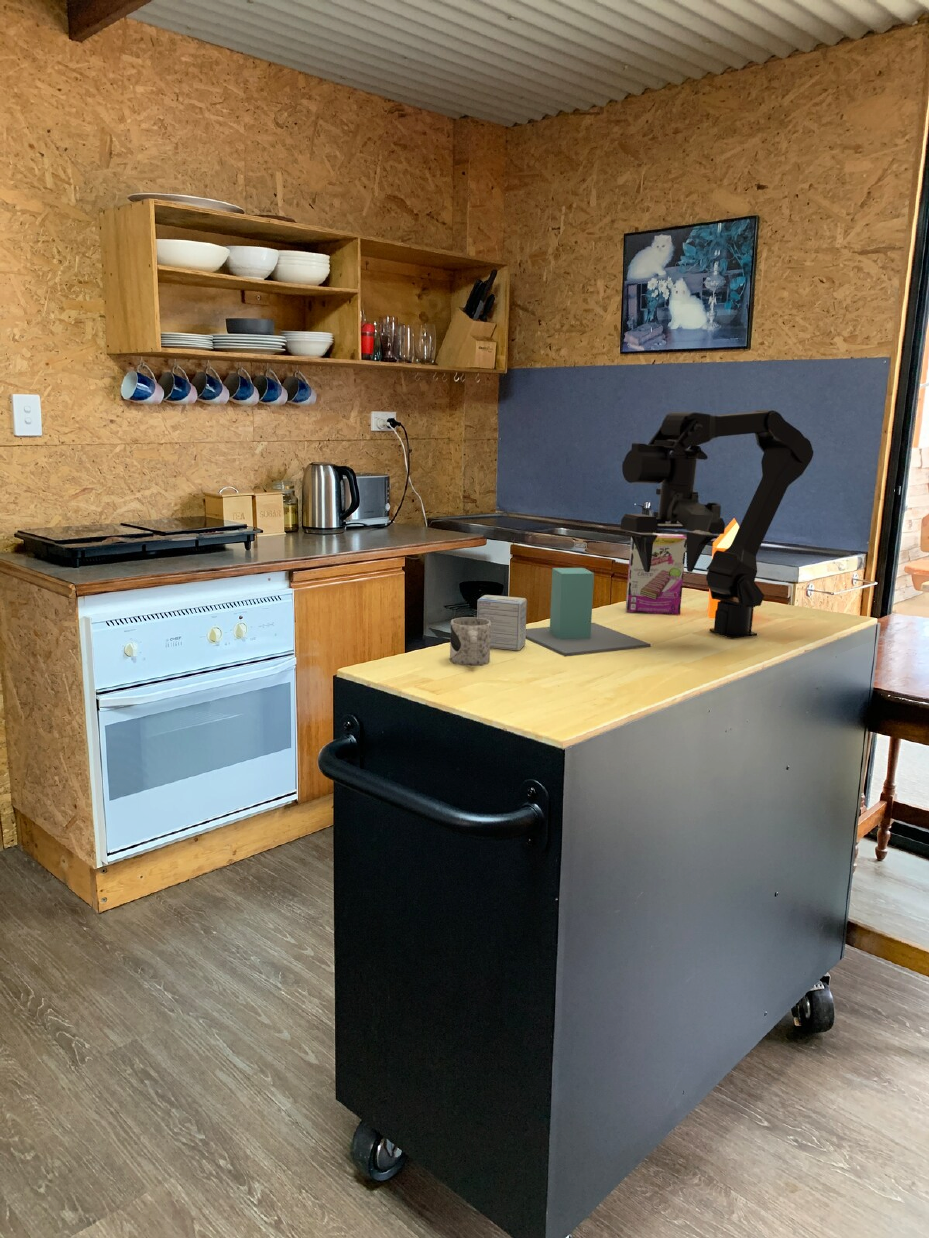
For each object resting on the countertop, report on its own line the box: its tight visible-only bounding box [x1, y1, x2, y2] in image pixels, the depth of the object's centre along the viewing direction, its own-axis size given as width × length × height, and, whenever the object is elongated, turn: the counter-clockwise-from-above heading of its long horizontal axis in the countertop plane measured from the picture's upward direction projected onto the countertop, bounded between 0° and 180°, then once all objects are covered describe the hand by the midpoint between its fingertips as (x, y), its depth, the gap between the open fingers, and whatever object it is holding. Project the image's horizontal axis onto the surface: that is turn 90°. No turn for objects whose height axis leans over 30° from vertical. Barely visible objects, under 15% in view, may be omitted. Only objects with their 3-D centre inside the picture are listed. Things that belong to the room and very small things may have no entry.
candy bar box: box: [625, 532, 686, 616], centre depth 193 cm, size 11×5×16 cm, turn 84°
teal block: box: [549, 567, 595, 639], centre depth 170 cm, size 6×6×12 cm
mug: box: [449, 616, 491, 667], centre depth 152 cm, size 10×7×7 cm, turn 4°
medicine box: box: [476, 594, 528, 651], centre depth 163 cm, size 8×4×9 cm, turn 71°
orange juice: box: [707, 517, 740, 620], centre depth 192 cm, size 8×9×20 cm
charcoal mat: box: [526, 622, 651, 657], centre depth 170 cm, size 18×18×1 cm
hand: (668, 571), depth 167 cm, fingers open, 9 cm apart
